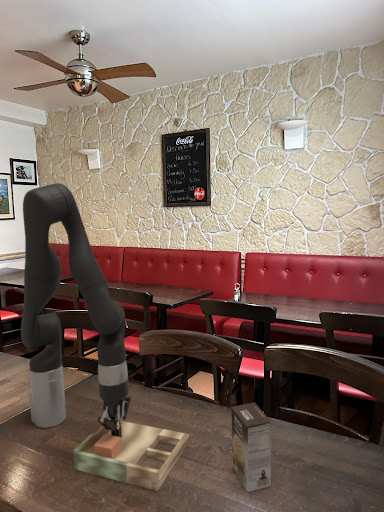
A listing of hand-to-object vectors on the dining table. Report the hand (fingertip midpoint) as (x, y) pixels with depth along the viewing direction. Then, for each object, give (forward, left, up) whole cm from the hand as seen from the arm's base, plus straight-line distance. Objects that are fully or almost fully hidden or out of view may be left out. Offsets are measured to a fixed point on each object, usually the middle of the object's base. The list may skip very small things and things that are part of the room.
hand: (117, 439), depth 103 cm
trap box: (+5, 0, -3) cm, 6 cm away
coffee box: (+36, +1, -3) cm, 36 cm away
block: (0, -5, -1) cm, 5 cm away
